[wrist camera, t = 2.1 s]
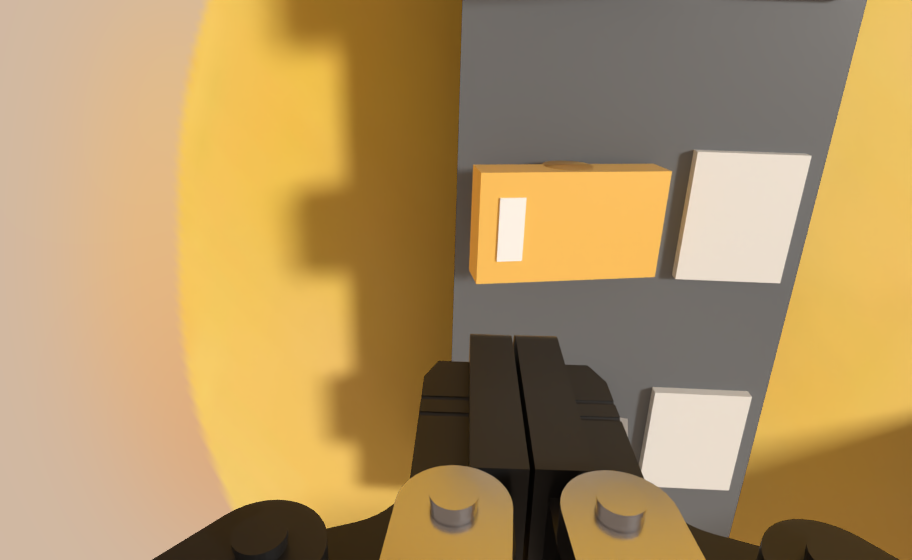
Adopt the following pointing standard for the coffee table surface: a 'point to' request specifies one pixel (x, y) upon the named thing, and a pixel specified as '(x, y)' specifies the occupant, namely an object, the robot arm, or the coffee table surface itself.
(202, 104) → the coffee table surface
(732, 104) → the rocker switch panel
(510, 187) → the block
